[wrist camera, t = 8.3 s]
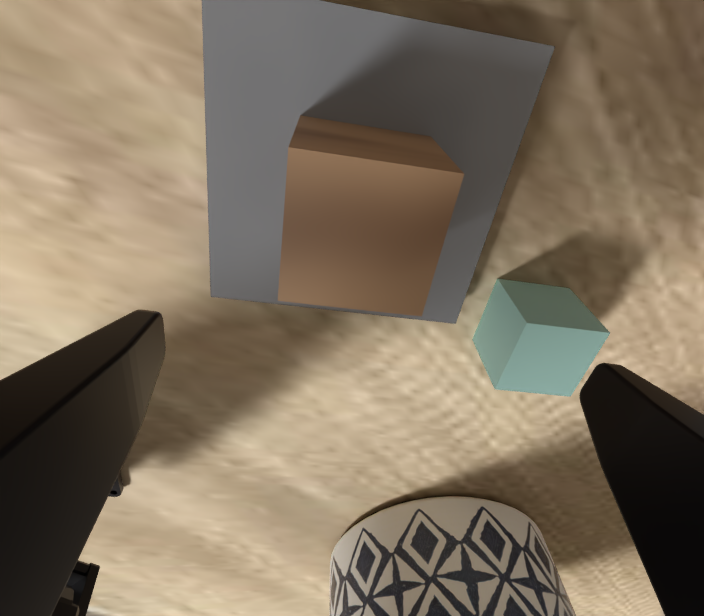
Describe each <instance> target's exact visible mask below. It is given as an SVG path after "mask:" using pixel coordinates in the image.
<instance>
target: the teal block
mask: <svg viewBox="0 0 704 616" xmlns="http://www.w3.org/2000/svg"><path fill="white" fill-rule="evenodd" d="M609 334H610V332H609V331H608V330H607V329H606V328H605V327H604V326H603V325H602V323H601V322H600V321H599V320H598V319H597V318H596V317H595V316H594V315H593V314H592V312H591V311H590V310H589V309H588V308H587V307H586V306H585V305H584V304H583V303H582V302H581V300H580V299H579V298H578V297H577V296H576V295H575V294H574V293H573V292H572V291H571V290H570V288H565V287H557V286H550V285H542V284H535V283H527V282H520V281H512V280H505V279H497V280H496V283H495V285H494V288H493V290H492V293H491V295H490V298H489V300H488V303H487V305H486V307H485V310H484V312H483V315H482V317H481V320H480V322H479V325H478V327H477V330H476V332H475V334H474V337H473V339H472V340H473V342H474V344H475V346H476V349H477V351H478V353H479V355H480V358H481V360H482V362H483V364H484V366H485V369H486V371H487V373H488V375H489V377H490V380H491V382H492V384H493V386H494V388H495V389H498V390H508V391H519V392H529V393H539V394H549V395H560V396H571V395H572V393H573V392H574V390H575V388H576V387H577V385H578V384H579V382H580V380H581V379H582V377H583V376H584V374H585V372H586V371H587V369H588V368H589V366H590V364H591V363H592V361H593V360H594V358H595V356H596V355H597V353H598V352H599V350H600V348H601V347H602V345H603V344H604V342H605V340H606V339H607V337H608V336H609Z"/></svg>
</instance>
